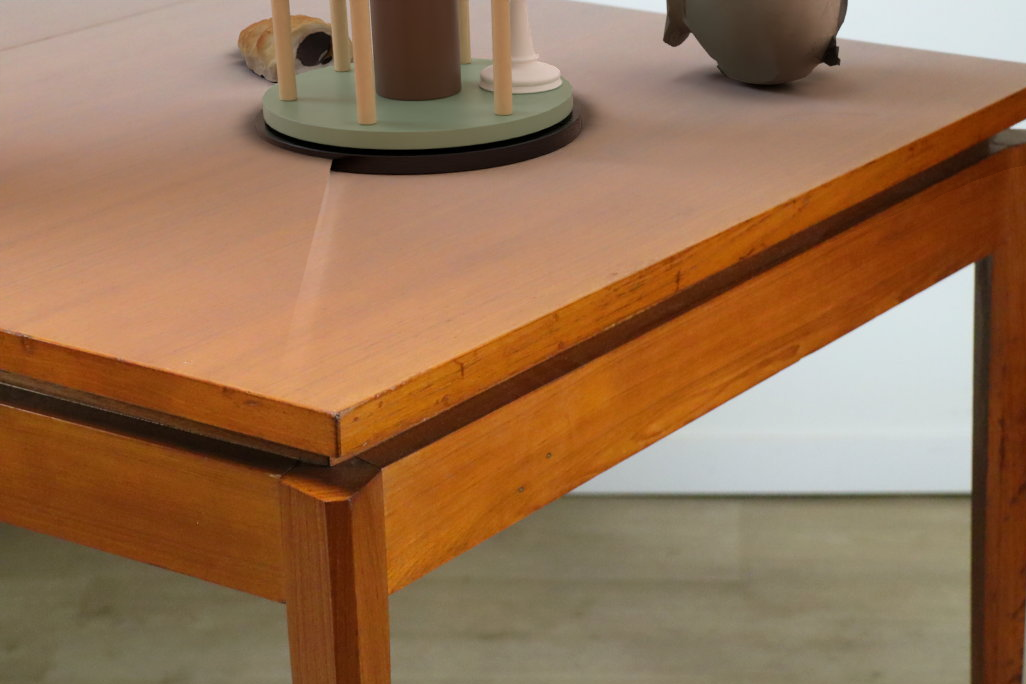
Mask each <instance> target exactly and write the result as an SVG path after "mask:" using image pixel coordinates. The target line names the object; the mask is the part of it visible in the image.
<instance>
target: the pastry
mask: <svg viewBox="0 0 1026 684" xmlns="http://www.w3.org/2000/svg"><path fill="white" fill-rule="evenodd" d="M290 17H291V29H292V40H293V52H294V64H295V75H298V74H301V73H305V72H308V71H312V70H316V69H321V68H325V67H330V66H334V54H333V41H332V28H331V23H329V22H325V21H324V20H323V19H321V18H320V17H311V16H308V15H306V14H293V15H291V14H290ZM237 47H238V49H239V53H240V54H241V56H242V57H243V58H244V60H245V63H246V67H247V68H248V69H249V70H251V71H253V73H255V74H256V75H258V76H260V77H261V76H263V77H264V78H265V80H266V81H269V82H276V83H278V74H277V63H276V52H275V41H274V30H273V19H272V17H269V18H265V19H261V20H259V21H257V22H253V23H251V24H250V25H248V26H246V27H245V28H244V29H242V30H241V31H240V33H239V35H238V39H237ZM349 48H350V62H351V63H352V62H353V61H354V59H353V44H352V39H351V38H350V37H349Z"/></svg>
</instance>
